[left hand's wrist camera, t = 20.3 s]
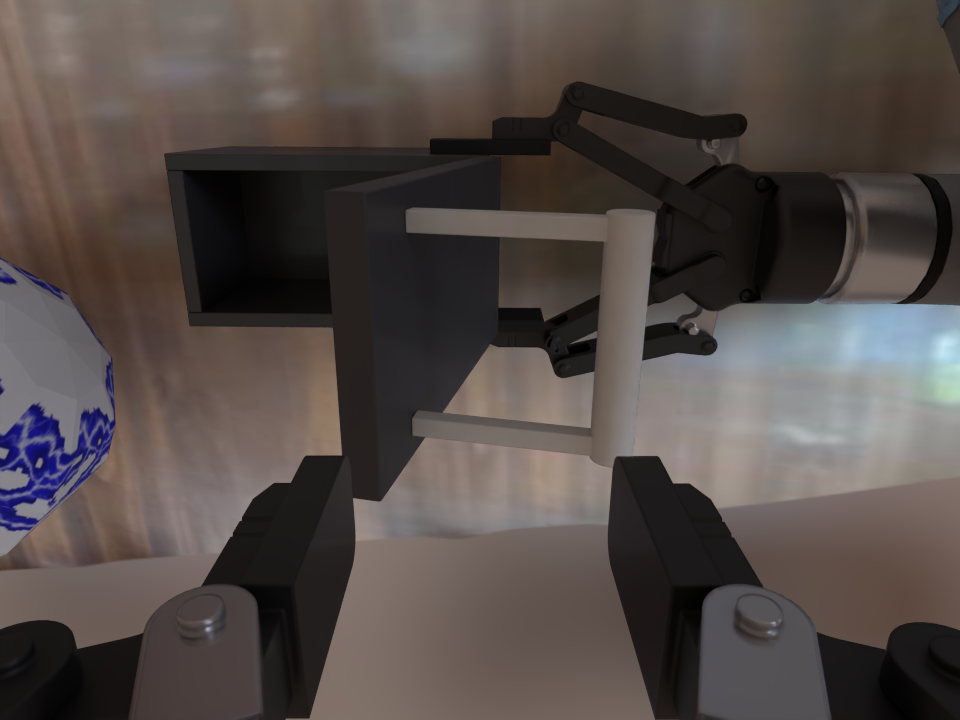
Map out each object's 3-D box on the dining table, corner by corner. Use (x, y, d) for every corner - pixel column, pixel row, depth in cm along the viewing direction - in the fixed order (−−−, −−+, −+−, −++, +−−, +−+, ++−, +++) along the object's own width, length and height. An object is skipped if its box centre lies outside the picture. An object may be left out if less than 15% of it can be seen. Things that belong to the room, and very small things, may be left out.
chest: (244, 287, 46) (189, 326, 38) (227, 146, 43) (163, 153, 35) (486, 289, 46) (487, 329, 38) (488, 148, 43) (489, 155, 34)
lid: (344, 497, 21) (628, 536, 19) (322, 190, 18) (660, 201, 16) (476, 331, 37) (636, 343, 35) (477, 156, 34) (653, 159, 32)
